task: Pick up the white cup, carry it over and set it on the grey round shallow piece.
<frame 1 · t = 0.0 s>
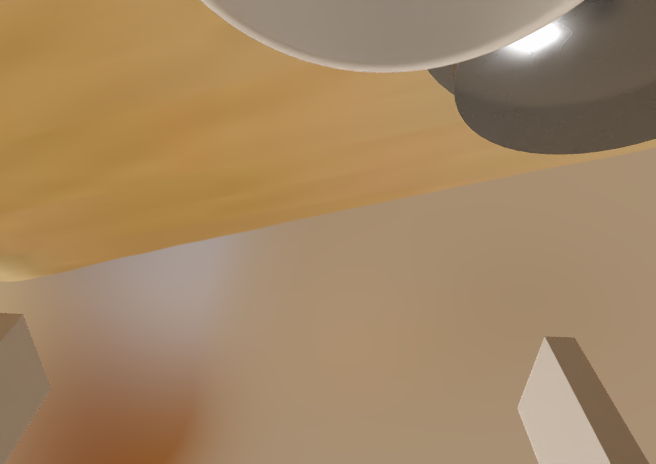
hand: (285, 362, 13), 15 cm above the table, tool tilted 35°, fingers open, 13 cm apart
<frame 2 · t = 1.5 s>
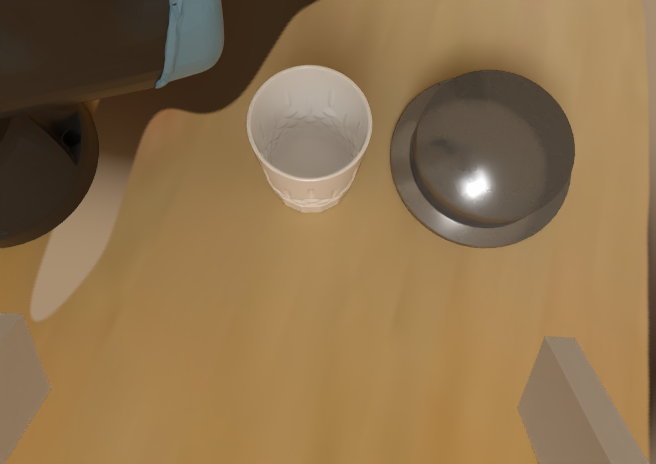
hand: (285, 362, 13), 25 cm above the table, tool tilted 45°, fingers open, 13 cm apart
white cup: (311, 175, 40), on the table
grey round shallow piece: (478, 160, 41), on the table
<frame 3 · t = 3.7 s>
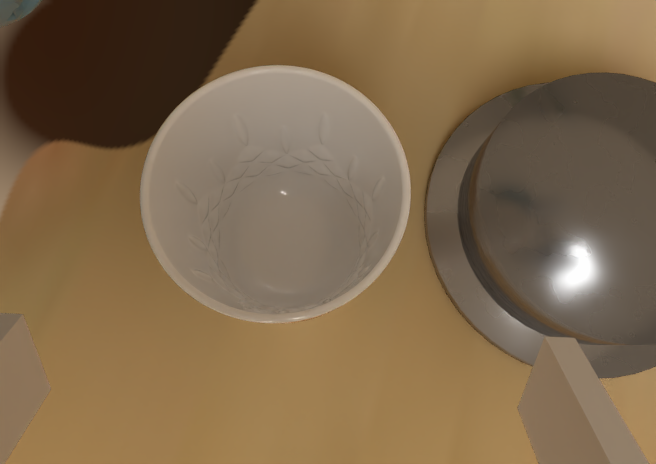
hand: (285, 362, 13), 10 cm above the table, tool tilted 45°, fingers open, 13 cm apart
white cup: (292, 250, 24), on the table
grey round shallow piece: (572, 222, 24), on the table
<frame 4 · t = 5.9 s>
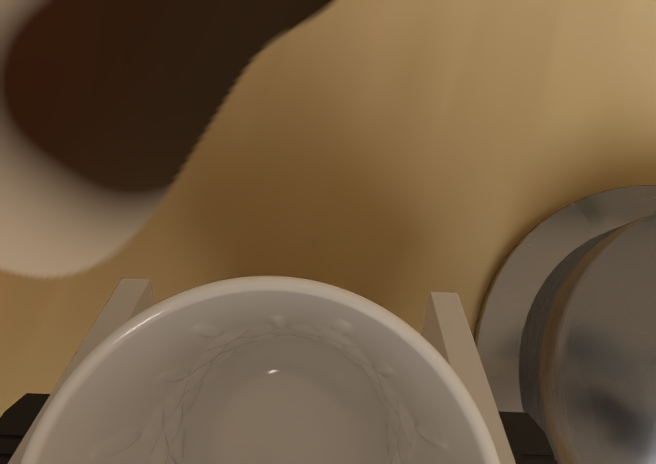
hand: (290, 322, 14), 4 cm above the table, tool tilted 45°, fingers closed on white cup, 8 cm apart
white cup: (290, 424, 17), on the table, touching gripper
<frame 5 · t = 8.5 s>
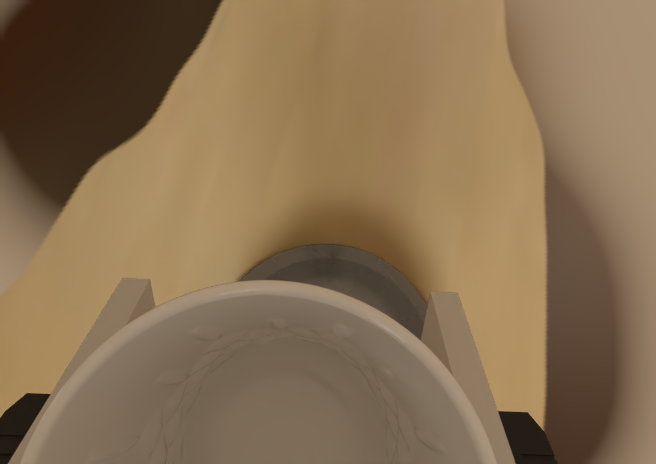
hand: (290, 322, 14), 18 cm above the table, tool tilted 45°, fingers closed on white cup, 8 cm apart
white cup: (290, 427, 17), point 14 cm above the table, touching gripper
grey round shallow piece: (325, 359, 31), on the table
when the fingers open (10 cm above the table, at t = 11.0 s): white cup drops 1 cm, resting on grey round shallow piece.
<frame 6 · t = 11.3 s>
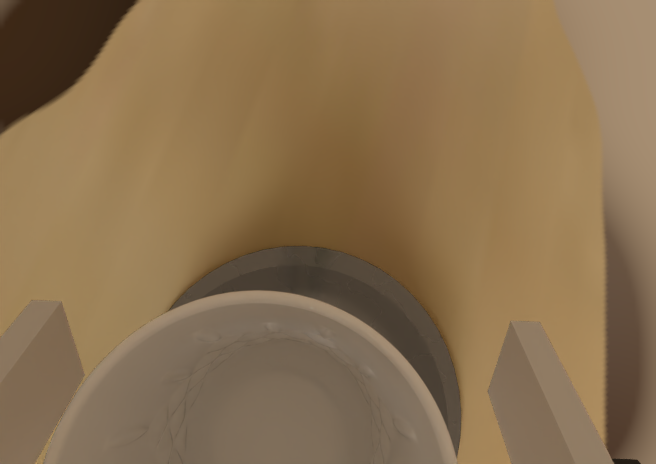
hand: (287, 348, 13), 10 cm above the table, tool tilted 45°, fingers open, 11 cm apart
white cup: (285, 421, 19), point 4 cm above the table, touching grey round shallow piece
grey round shallow piece: (297, 406, 22), on the table
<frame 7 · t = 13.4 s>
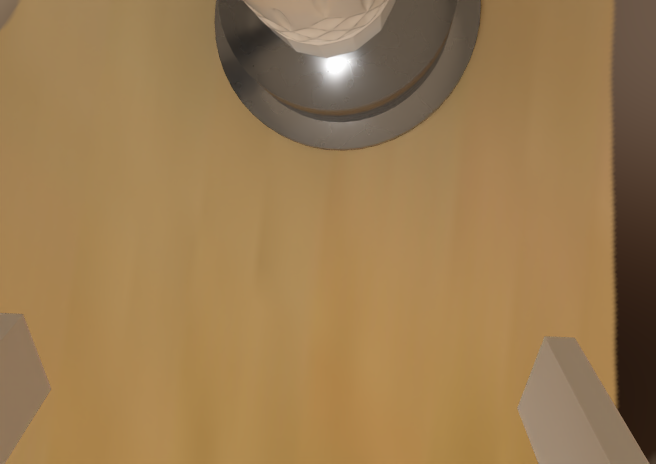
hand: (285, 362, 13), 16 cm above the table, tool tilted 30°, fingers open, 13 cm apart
grey round shallow piece: (343, 19, 28), on the table
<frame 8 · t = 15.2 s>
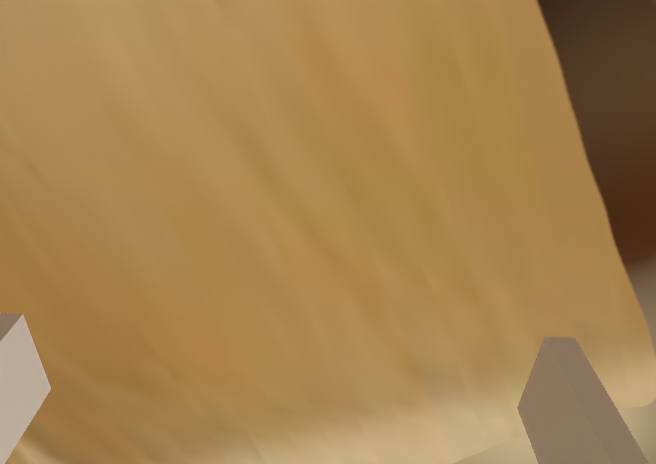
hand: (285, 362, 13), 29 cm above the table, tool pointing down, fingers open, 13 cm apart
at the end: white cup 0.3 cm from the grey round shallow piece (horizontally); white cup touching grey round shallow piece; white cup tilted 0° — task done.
